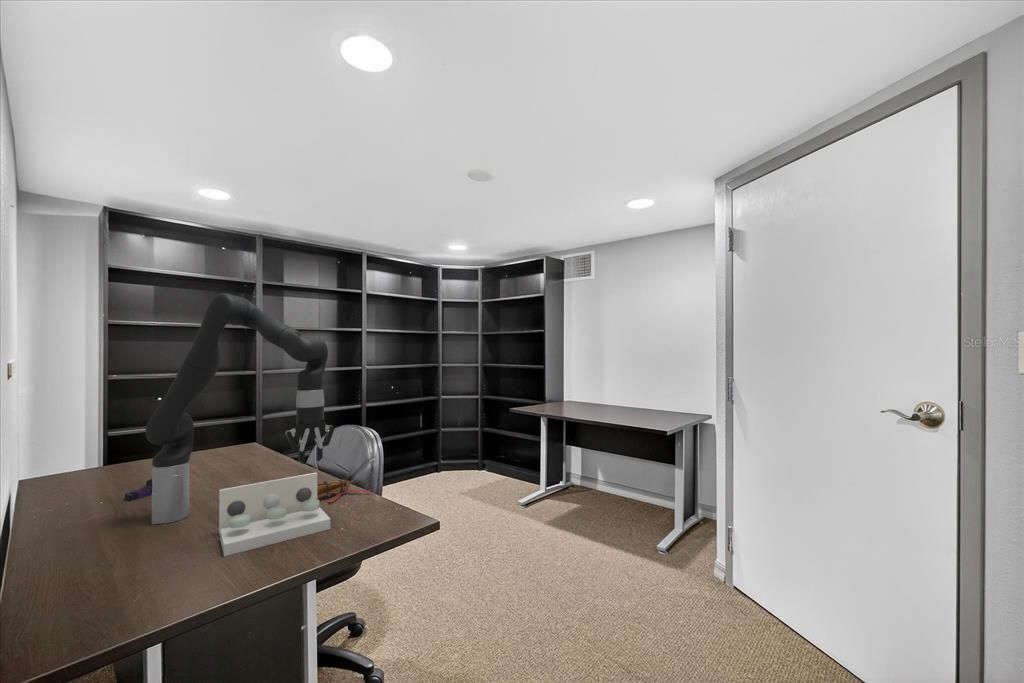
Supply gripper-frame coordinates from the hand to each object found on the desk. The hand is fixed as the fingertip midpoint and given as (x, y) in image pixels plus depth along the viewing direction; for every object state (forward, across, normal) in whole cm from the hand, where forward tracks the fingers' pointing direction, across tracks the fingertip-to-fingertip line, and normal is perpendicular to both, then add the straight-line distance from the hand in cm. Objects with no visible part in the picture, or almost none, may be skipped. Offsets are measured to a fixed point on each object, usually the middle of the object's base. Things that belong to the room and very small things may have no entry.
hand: (310, 461), depth 127 cm
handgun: (+20, +41, -76) cm, 88 cm away
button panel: (+19, +9, 0) cm, 21 cm away
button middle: (+14, +9, 0) cm, 17 cm away
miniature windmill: (+20, -9, -23) cm, 31 cm away
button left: (+14, +18, 0) cm, 23 cm away
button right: (+14, 0, 0) cm, 14 cm away
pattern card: (+19, +9, -10) cm, 23 cm away
